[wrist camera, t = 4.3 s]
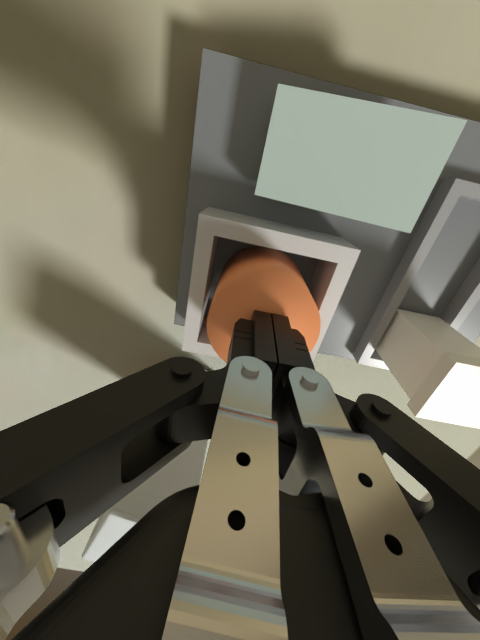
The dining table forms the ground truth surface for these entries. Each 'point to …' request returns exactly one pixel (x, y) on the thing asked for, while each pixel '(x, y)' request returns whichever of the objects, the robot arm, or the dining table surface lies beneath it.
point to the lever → (433, 367)
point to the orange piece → (261, 296)
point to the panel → (321, 224)
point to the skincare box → (146, 498)
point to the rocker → (354, 156)
